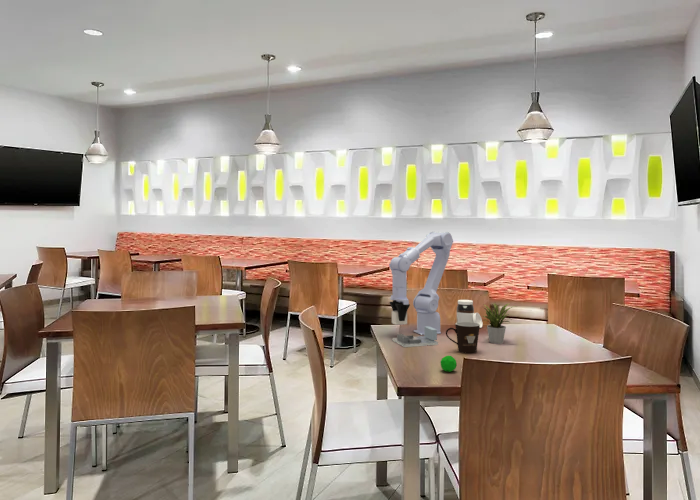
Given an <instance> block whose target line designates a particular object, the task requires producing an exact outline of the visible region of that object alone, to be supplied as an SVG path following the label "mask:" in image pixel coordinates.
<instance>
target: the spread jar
mask: <svg viewBox="0 0 700 500" xmlns="http://www.w3.org/2000/svg"><path fill="white" fill-rule="evenodd" d="M458 322H473V323H478V324H480V328H479V329H481V328H483V321H482V316H481V315H480V313H479V312H475V307H474V300H471V299H458V300H457V306H456V323H458Z"/></svg>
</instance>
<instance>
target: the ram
mask: <svg viewBox="0 0 700 500" xmlns="http://www.w3.org/2000/svg"><path fill="white" fill-rule="evenodd" d="M423 336H424V337H426V338H428V339H430V340H434V341H437V339H438V334H437V330H436V329H434V328H432V327H429V326H428V327H424V335H423Z"/></svg>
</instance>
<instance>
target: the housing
mask: <svg viewBox="0 0 700 500" xmlns="http://www.w3.org/2000/svg"><path fill="white" fill-rule="evenodd" d="M391 324H393V325H395V326H399V325H408V312H407V313H406V317H405V321H399V317H398V311H393V310H391Z"/></svg>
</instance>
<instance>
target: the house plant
mask: <svg viewBox="0 0 700 500" xmlns="http://www.w3.org/2000/svg"><path fill="white" fill-rule="evenodd" d="M482 305H483V306H484V307H483V306H482V308H483V309H484V310H485V314H486V315H482V317H484V318H486V319H485V321H486V322H488V323H489V324H487V325H486V326H487V327H486V329H487V336H488V340H489V341H488V342H489V343H491V344H496V345H500V344H503V343H504V340H505V339H504V338H505V333H506V328H507V327H506V325H502V324H503V323H506V322H508V323H510V321H509V320H511V318H509V317H508V318H507V316H508V314H507V312H508V311H509V310H510V309H511V308H517V307H518V306H516V305H513V306H511V307H509V308H508V307H507V306H508V305H509V303H507V304H505V305H503V306H502V307H501V309H500V312H499V307H498V305H497V304H496V302H494V303H493V309H492V310H491V308H489V306H487V305H486V304H484V303H483V304H482ZM485 307H486V308H485ZM487 319H488V320H489V321H488V320H487ZM483 321H484V319H483V320H482V322H483Z"/></svg>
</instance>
